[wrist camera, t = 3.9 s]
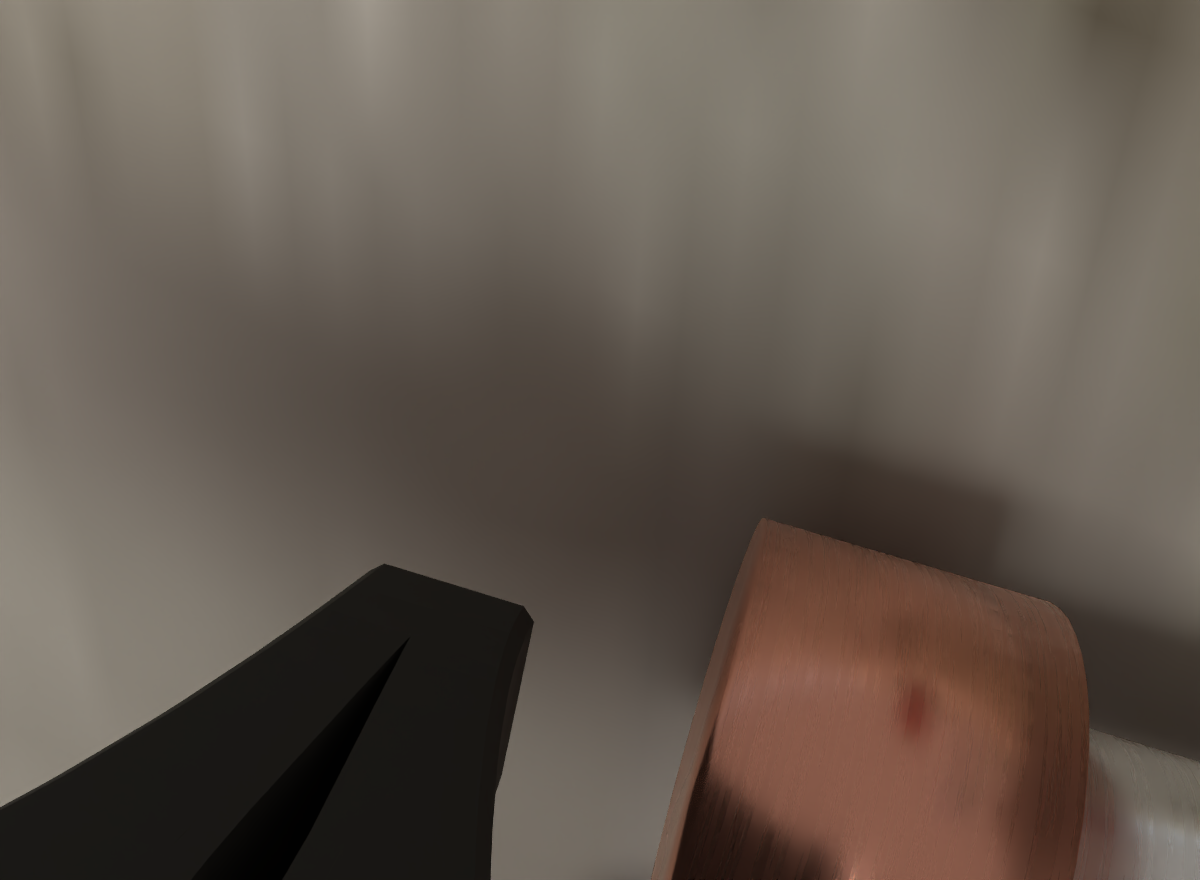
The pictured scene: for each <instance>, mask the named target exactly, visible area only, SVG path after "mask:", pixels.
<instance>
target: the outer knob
mask: <svg viewBox="0 0 1200 880" xmlns="http://www.w3.org/2000/svg"><path fill="white" fill-rule="evenodd" d="M651 880H1200V762H1199V761H1195V760H1192V759H1189V758H1186V757H1182V756H1179V755H1176V754H1172V753H1169V752H1166V751H1163V750H1159V749H1156V748H1153V747H1149V746H1146V745H1143V744H1139V743H1136V742H1133V741H1130V740H1126V739H1123V738H1120V737H1116V736H1113V735H1110V734H1107V733H1103V732H1100V731H1097V730H1093V729H1090V728H1089V703H1088V692H1087V680H1086V674H1085V669H1084V663H1083V658H1082V653H1081V650H1080V646H1079V643H1078V640H1077V636H1076V634H1075V632H1074V629H1073V627H1072V625H1071V623H1070V621H1069V619H1068V618H1067V617H1066V615H1065V614H1064V613H1063V612H1062V610H1061V609H1060V608H1059V607H1057V606H1056V605H1054V604H1053V603H1051V602H1048V601H1045V600H1042V599H1038V598H1035V597H1031V596H1028V595H1025V594H1021V593H1018V592H1014V591H1011V590H1008V589H1004V588H1001V587H997V586H994V585H991V584H987V583H984V582H980V581H977V580H973V579H970V578H967V577H963V576H960V575H956V574H953V573H950V572H946V571H943V570H939V569H936V568H933V567H929V566H926V565H922V564H919V563H916V562H912V561H909V560H905V559H902V558H898V557H895V556H892V555H888V554H885V553H881V552H878V551H875V550H871V549H868V548H864V547H861V546H858V545H854V544H851V543H847V542H844V541H841V540H837V539H834V538H830V537H827V536H823V535H820V534H817V533H813V532H810V531H806V530H803V529H800V528H796V527H793V526H789V525H786V524H783V523H779V522H776V521H772V520H769V519H766V518H762V519H761V521H760V522H759V524H758V525H757V527H756V529H755V532H754V534H753V536H752V538H751V541H750V543H749V546H748V548H747V551H746V553H745V556H744V559H743V562H742V564H741V567H740V570H739V573H738V576H737V579H736V581H735V584H734V587H733V590H732V593H731V596H730V599H729V602H728V605H727V608H726V611H725V615H724V618H723V621H722V624H721V627H720V630H719V633H718V637H717V640H716V643H715V646H714V649H713V653H712V656H711V659H710V663H709V666H708V669H707V673H706V676H705V679H704V683H703V686H702V690H701V693H700V696H699V700H698V703H697V707H696V710H695V714H694V717H693V721H692V724H691V728H690V731H689V735H688V738H687V742H686V746H685V749H684V753H683V756H682V760H681V764H680V767H679V771H678V775H677V778H676V782H675V786H674V790H673V793H672V797H671V801H670V805H669V809H668V813H667V816H666V820H665V824H664V828H663V832H662V836H661V840H660V844H659V848H658V852H657V856H656V860H655V864H654V868H653V872H652V876H651Z"/></svg>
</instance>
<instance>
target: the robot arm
mask: <svg viewBox="0 0 1200 880" xmlns="http://www.w3.org/2000/svg"><path fill="white" fill-rule="evenodd" d="M533 623H534V621H533V619H532V618H531V617H530V615H529V614H528V612H527V611H526V609H525V608H524V606H521V605H518V604H515V603H511V602H508V601H505V600H502V599H498V598H495V597H492V596H488V595H485V594H482V593H479V592H475V591H472V590H469V589H466V588H462V587H459V586H456V585H452V584H449V583H446V582H443V581H439V580H436V579H433V578H429V577H426V576H423V575H420V574H416V573H413V572H410V571H407V570H403V569H400V568H397V567H393V566H390V565H387V564H383V565H381V566H379V567H377V568H375V569H373V570H371V571H369V572H368V573H366V574H365V575H364V576H362V577H361V578H360V579H358V580H357V581H356V582H354V583H353V584H351V585H350V586H349V587H347V588H346V589H345V590H343V591H342V592H340V593H339V594H338V595H336V596H335V597H334V598H332V599H331V600H330V601H328V602H327V603H325V604H324V605H323V606H321V607H320V608H319V609H317V610H316V611H314V612H313V613H312V614H310V615H309V616H307V617H306V618H305V619H303V620H302V621H300V622H299V623H298V624H296V625H295V626H293V627H292V628H290V629H289V630H288V631H286V632H285V633H283V634H282V635H280V636H279V637H278V638H276V639H275V640H273V641H272V642H270V643H269V644H267V645H266V646H265V647H263V648H262V649H260V650H259V651H257V652H256V653H255V654H253V655H252V656H250V657H249V658H247V659H245V660H244V661H242V662H241V663H239V664H238V665H236V666H235V667H233V668H232V669H230V670H229V671H227V672H226V673H224V674H223V675H221V676H220V677H218V678H217V679H215V680H214V681H212V682H211V683H209V684H208V685H206V686H204V687H203V688H201V689H200V690H198V691H197V692H195V693H194V694H192V695H191V696H189V697H188V698H186V699H185V700H183V701H182V702H180V703H179V704H177V705H175V706H174V707H172V708H171V709H169V710H168V711H166V712H164V713H163V714H161V715H160V716H158V717H156V718H155V719H153V720H151V721H150V722H148V723H146V724H145V725H143V726H141V727H140V728H138V729H136V730H134V731H133V732H131V733H129V734H128V735H126V736H124V737H123V738H121V739H119V740H118V741H116V742H114V743H113V744H111V745H109V746H107V747H106V748H104V749H102V750H101V751H99V752H97V753H96V754H94V755H92V756H91V757H89V758H87V759H86V760H84V761H82V762H80V763H79V764H77V765H75V766H74V767H72V768H70V769H69V770H67V771H65V772H64V773H62V774H60V775H58V776H57V777H55V778H53V779H51V780H49V781H48V782H46V783H44V784H42V785H40V786H39V787H37V788H35V789H33V790H31V791H29V792H28V793H26V794H24V795H22V796H20V797H18V798H17V799H15V800H13V801H11V802H9V803H7V804H6V805H4V806H2V807H0V880H491V851H492V828H493V816H494V803H495V793H496V790H497V787H498V784H499V781H500V778H501V775H502V771H503V766H504V761H505V756H506V751H507V747H508V742H509V737H510V732H511V728H512V723H513V718H514V713H515V709H516V704H517V699H518V694H519V690H520V685H521V680H522V675H523V671H524V666H525V661H526V656H527V652H528V647H529V642H530V637H531V633H532V628H533Z"/></svg>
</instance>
